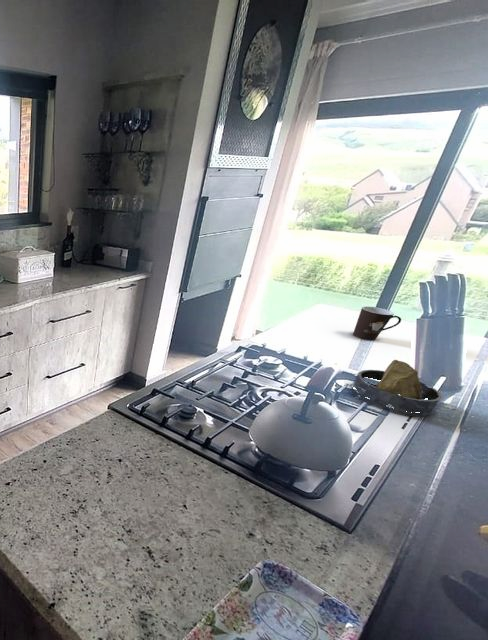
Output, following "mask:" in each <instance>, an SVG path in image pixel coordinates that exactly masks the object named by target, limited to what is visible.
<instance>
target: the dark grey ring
mask: <svg viewBox="0 0 488 640" xmlns="http://www.w3.org/2000/svg"><path fill="white" fill-rule="evenodd" d="M384 373H385V370H380V369H363V370H360V371H359V372H358V373H357V374H356V377H355V378H354V380H353V381H352V383H351V386H350V391H351V392H352V394H353V395H354V396H356V397H357V398H359V399H360V400H361V401H363V402H365V403H367V404H368V405H371V406H373V407H376V408H378V409H381V410H384V411H387V412H391V413H393V414H398V415H402V416H408V417H428V416H430V415H431V414H432V413H433V412H434V410H436V407H437V406H438V405H439V404H440V401H442V400H443V396H442V393H440V392H439V391H438V390H437V389H436V388H434V387H433V386H431V385H429V384H427V383H425V382H423V381H420V380H419V383H420V384H421V385H422V398H421V400H418V399H412V398H407V397H403V396H399V395H396V394H392V393H389V392H387V391H384V390H381V389H379V388H377V387H376V385H373V384H370V383H369V382H366V381H365V380H364V379H363V378H364V377H368V378H373V379H377V380H381V379H382V378H383V376H384ZM352 385H353V387H355V388H356V389H357V390H358V392H359V393H357V392H356V391H355V390H354V389H353V387H352ZM365 397H368V398H370V400H369V399H367V398H365ZM425 398H428V400H424V399H425ZM388 404H391V405H392V406H393V407H394V409H393V408H389V407H386V405H388ZM406 411H407V412H406ZM411 412H412V413H411ZM413 412H414V413H413ZM415 412H420V413H415Z"/></svg>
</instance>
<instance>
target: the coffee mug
mask: <svg viewBox="0 0 488 640" xmlns="http://www.w3.org/2000/svg"><path fill="white" fill-rule="evenodd" d="M393 318H395V319H396V318H397V319H398V321H397V322H396V323H394V324H393V325H390V326H388V327H386V326H387V324H388V323H389V322H390V320H392V319H393ZM400 323H402V318H401V317H400V316H398V315H395V313H394V312H393V311H391V310H389V309H385V308H381V307H377V306H376V307H375V306H368V305H367V306H362V307H361V309H360V312H359V315H358V318H357V321H356V324H355V327H354V330H353V333H352V336H353V337H354V338H358V339H361V340H364V341H370V342H371V341H376V340H377V338H378V337H379V335H380V334H381V333H382V332H383V331H387V330H389V329H392V328H394V327H397V326H398V325H400Z"/></svg>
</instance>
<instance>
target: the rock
mask: <svg viewBox="0 0 488 640" xmlns="http://www.w3.org/2000/svg"><path fill="white" fill-rule="evenodd" d="M384 371H385V373H384V376H383V378H382V379H381V381H380V382H379V383H378V384H377V385H376V387H377V388H379V389H381V390H384V391H387V392H389V393H392V394H396V395H398V394H400V395H401V396H403V397H407V398H412V399H418V400H421V398H422V385H421V384H420V383H419V381H420V378H419V376H418V374H419V373H418V371H417V370H416V369H414V368H413V366H411V365H410V364H409V363H407V362H405V361H402V360H398V359H394V360H392V361H391V362H390V363H389V365H388V366H387V367H386V369H385V370H384Z"/></svg>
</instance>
